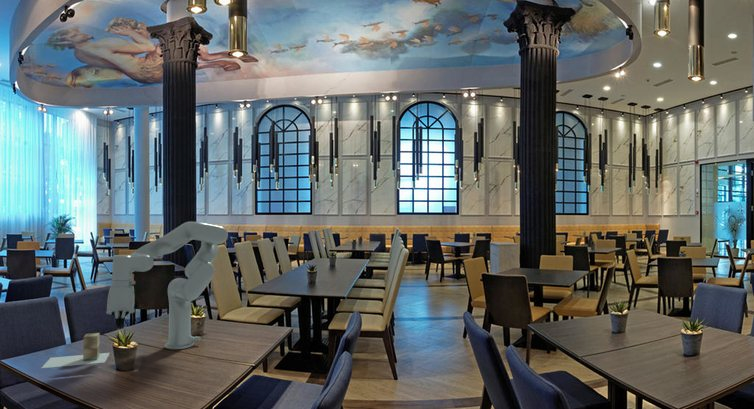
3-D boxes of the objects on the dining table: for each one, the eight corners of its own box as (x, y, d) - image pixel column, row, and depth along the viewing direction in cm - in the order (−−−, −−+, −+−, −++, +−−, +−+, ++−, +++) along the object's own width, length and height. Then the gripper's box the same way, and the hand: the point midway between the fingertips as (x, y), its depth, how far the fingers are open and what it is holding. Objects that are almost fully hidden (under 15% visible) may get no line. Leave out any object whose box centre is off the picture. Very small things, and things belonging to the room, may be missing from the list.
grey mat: (110, 354, 209) (110, 352, 209) (104, 364, 196) (104, 362, 196) (50, 359, 201) (50, 357, 201) (41, 370, 188) (41, 368, 188)
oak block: (99, 356, 204) (99, 332, 204) (97, 359, 199) (97, 335, 199) (85, 357, 202) (86, 333, 202) (83, 361, 197) (83, 336, 197)
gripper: (142, 282, 211) (140, 324, 210) (103, 283, 206) (101, 326, 205) (140, 284, 204) (138, 328, 203) (100, 285, 199) (98, 330, 198)
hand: (119, 327), depth 204 cm, fingers closed
